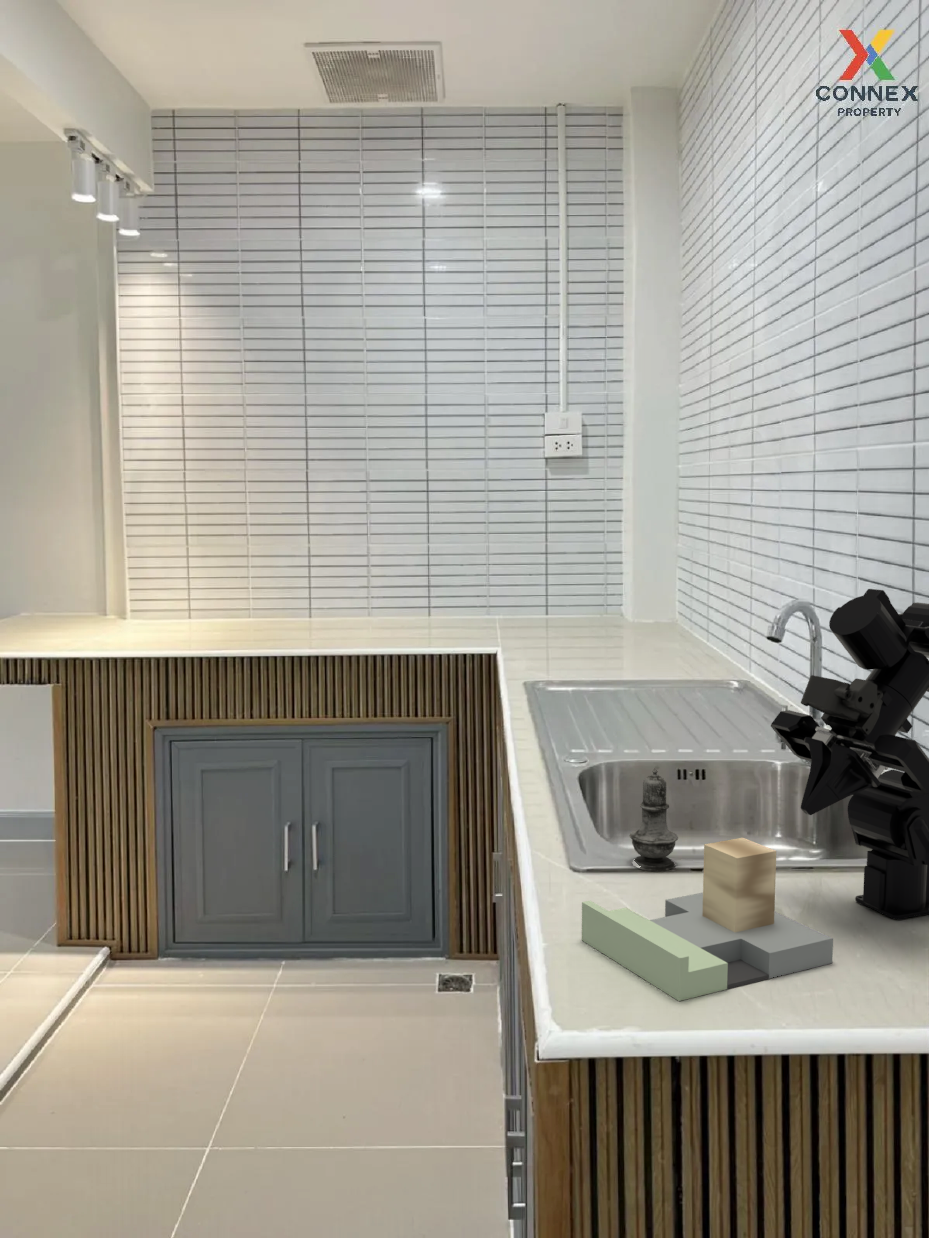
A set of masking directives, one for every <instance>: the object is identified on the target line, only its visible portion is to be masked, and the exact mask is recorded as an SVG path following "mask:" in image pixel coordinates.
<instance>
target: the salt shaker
mask: <svg viewBox="0 0 929 1238" xmlns="http://www.w3.org/2000/svg"><path fill="white" fill-rule="evenodd" d="M658 772H659V771H658V770H657V768H656V767H655V768H654V769H653V770H652V774H650V775H648V776H646V777H645V778H644V779H643V782H642V802H640V803H639V807H640V808H641V822H640V826H639V828H638V829H636V830H633V831H631V832H630V833H629V838H630V839H631V844H632V846H633V848H634V851H635V852H636V853H637V854H638V856H636V857H635V858H634V859H635V860H634V861H635V862H636V863H637V864H638V865H639V866H641V867H640V869H639V870H642V871H649V872H664V871H665V872H666V871H670V870H672V869H674V868H675V866H676V863H675V861H673V860H672V859H670V858H669V855H671V854H672V853H673V851H674V849H675V847H676V842H677V841H678V839H679V836H678V834H677V833H675V832H673V831H670V830H669V828H668V822H667V814H668V813H667V809H669V808H670V805H669V804H668V803H667V781H666V779H665V778H664V777H662V776H660V775H659V774H658Z"/></svg>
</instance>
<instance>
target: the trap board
mask: <svg viewBox="0 0 929 1238" xmlns="http://www.w3.org/2000/svg"><path fill="white" fill-rule="evenodd" d="M664 907H665V909H664V911H665V912H664V917H657V918H653V919H649V918H646V917H644V916H643V915H641V914H639V913H637V912H636V911H633V910H632V909H630V908H628V907H622V908H617V909H611V910H608V909H606V908H604V907H602V906H601V905H599V904H598V903H596V902H594V901H592V900H586V901H582V902H581V941H582V942H584V943H585V944H587V945H588V946H590V947H591V948H594V949H595V950H597V951H598V952H600V953H602V954H603V955H605V956H606V957H607V958H610V960H613V961H614V962H616V963H617V964H619V965H620V966H622V967H624V968H625V969H627V970H629V971H630V972H632V973H634V974H636V976H638V977H640V978H642V979H643V980H645V981H646V982H648V983H649V984H651V985H652V986H654V987H656V988H657V989H659V990H661V991H662V992H663V993H665V994H667V995H669V996H670V997H672V998H673V999H675V1000H677V1001H678V1002H680V1001H685V1000H689V999H694V998H697V997H700V996H705V995H709V994H713V993H717V992H721V991H725V990H728V989H729V990H730V989H732V988H737V987H742V986H745V985H749V984H754V983H757V982H761V981H765V980H770V979H774V978H777V976H778V977H781V975H782V976H785V975H790V974H793V972H794V973H798V972H802V971H806V970H808V969H809V970H810V969H814V968H817V967H823V966H826V965H830V964H833V953H834V951H833V950H834V938H833V937H832V936H829V935H827V934H825V933H823V932H821V931H818V930H816V929H814V928H813V927H810V926H808V925H806V924H804V923H802V922H799V921H797V920H795V919H793V918H790V917H788V916H786V915H785V914H781V913H780V912H777V911H775V912H774V924H771V925H766V926H762V927H757V928H753V929H748V930H744V931H739V932H733V931H731V930H729V929H727V928H725V927H723V926H721V925H719V924H717V923H715V922H713V921H712V920H710V919H708V918H706V917H704V916H702V914H703V891H702V892H697V893H693V894H687V895H682V896H678V897H673V898H668V899H665V906H664ZM773 977H774V978H773Z"/></svg>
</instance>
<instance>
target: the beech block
mask: <svg viewBox="0 0 929 1238" xmlns="http://www.w3.org/2000/svg"><path fill="white" fill-rule="evenodd" d="M776 873H777V850H775V849H772V848H769V847H767V846H765V845H763V844H759V843H758V842H755V841H753V840H749V839H747V838H745V837H739V838H733V839H729V840H728V839H727V840H722V841H717V842H716V841H715V842H709V843H704V844H703V875H702V876H703V878H702V879H703V880H702V892H703V914H702V916H704V917H706V918H708V919H710V920H712V921H713V922H715V923H717V924H719V925H721V926H723V927H725V928H727V929H729V930H731V931H733V932H739V931H744V930H748V929H753V928H757V927H762V926H766V925H771V924H774V912H775V908H776V907H775V904H776V879H777V878H776V877H777V874H776Z"/></svg>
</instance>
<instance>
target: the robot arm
mask: <svg viewBox="0 0 929 1238" xmlns="http://www.w3.org/2000/svg"><path fill="white" fill-rule="evenodd" d="M828 626H829V630H830V631H831V632H832V634H833V635H834V636H835V637H836V639H837V640H838V641H839V643H840V644H841V645H842V647H843V648H844V650H846V652H847V653H848V655H849V656H850V657H851V658H852V660H853V661H854V663H855V664H857V666H858V667H860V668H861V669H863V670H869V671H870V670H872V671H871V672H870V673H869V675H868V676H867V678H866V679H861V678H855V679H853V680H852V682H851V683H848V682H843V681H841V680H837V679H832V678H827V677H823V676H820V675H819V676H818V675H813V674H811V675H810V676H809V679H808V682H807V684H806V687H805V689H804V692H803V694H802V698H801V700H800V704H801V705H803V706H804V707H808V706H809V707H811V708H812V709H815V710H817V711H818V712H820V713H823V714H822V715H821V717H820V719H821V720H822V721H823V722H824V724H825V726H829V727H830V728H831V729H829V728H826V727H821V726H820V724H818V722H817V721H816V720H815V719H814V717H813V716H812V715H809V714H805V713H802V712H799V711H798V712H797V711H794V710H780V711H779V713H778V714H777V715H776V717H775V718H774V719H773V721H772V722H771V723H770V727H771V729H772V730H773V731H774V732H775V733H776V734H777V736H778V737H779V739H781V741H782V742H783V744H785V745H786V746H787V748H788V749H789V750H790V751H791V753H792V754H793V755H794V756H796V757H798V759H801V760H805V761H808V762H810V768H809V774H808V777H807V782H806V784H805V788H804V793H803V797H802V800H801V804H800V809H801V811H802V812H803V813H804V814H805V815H808V816H812V815H815V814H816V813H818V812H820V811H822V810H824V809H826V808H828V807H830V806H832V805H834V804H836V803H837V802H840V801H842V800H843V799H846V798H848V797H850V796H851V798H850V799H849V801H848V805H847V815H848V822H849V825H850V827H851V832H852V835H853V838H854V841H855V845H857V846H859V847H865V848H867V849H870V850H867V851H866V852H867V853H866V855H867V856H866V865H865V866H864V867H863V868H864V869H863V891H862V892H863V894H860V895H856V896H855V897H854V898H855V899H854V900H855V902H856V903H859V904H861V905H863V906H865V907H867V908H870V909H872V910H873V911H876V912H878V913H880V914H882V915H885V916H886V917H888V918H891V919H894V920H901V919H902V920H903V919H907V918H913V917H919V916H925V915H929V756H928V755H927V754H926V753H925V751H924V750H923V749H922V747H921V746H920V745H919V744H918V742H917V741H916V740H914V739H911V738H907V737H906V738H905V737H902V736H899V735H897V734H898V732H900V733H904V734H908V733H909V732H910V731H911V729H912V727H913V725H912V723H911V722H910V721H909V719H908V718H909V717H910V716H911V714H912V713H913V711H914V710H915V708H916V707H917V705H919V703H920V702H921V700H922V699H923V697H924V696H925V695H926V693H927V692H928V693H929V603H927V602H926V603H925V602H912V604H911V605H909V606H908V607H906V608H905V610H904V611H903V612H901V613H899V612H898V611H897V610H896V608H895V607H894V605H893V604H892V602H891V599H890V597H889V596H888V594H887V593H886V592H885V590H883V589H877V588H876V589H873V588H868V589H867V590H866V591H865V593H864V594H863V595H861V596H858V597H854V598H852V599H850V600H849V601H847V602H846V603H844V604H842V606H839V607H837V608H836V609H835V611H833V613H832V615H831V616H830V619H829V625H828ZM888 769H889V770H888ZM884 770H886V771H884Z"/></svg>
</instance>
